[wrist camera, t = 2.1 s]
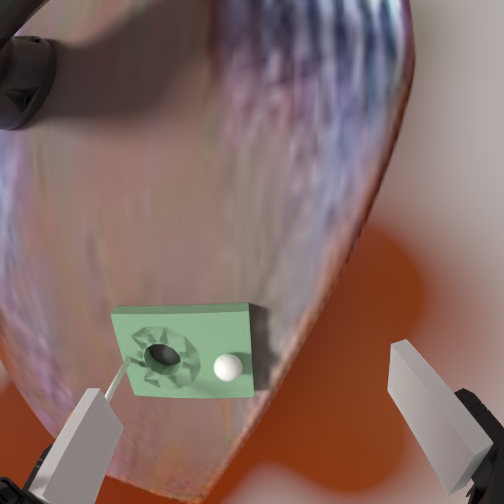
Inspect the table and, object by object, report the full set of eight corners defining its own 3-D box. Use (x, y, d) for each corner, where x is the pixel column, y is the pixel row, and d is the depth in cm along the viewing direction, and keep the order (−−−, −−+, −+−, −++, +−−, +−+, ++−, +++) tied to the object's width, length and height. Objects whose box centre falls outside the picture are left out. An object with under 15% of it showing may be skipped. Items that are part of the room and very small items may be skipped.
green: (124, 384, 41) (89, 459, 25) (101, 306, 37) (40, 372, 21) (253, 385, 41) (258, 475, 25) (248, 302, 38) (252, 387, 22)
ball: (216, 370, 37) (214, 387, 34) (213, 348, 36) (211, 365, 33) (243, 369, 37) (243, 386, 34) (241, 347, 36) (241, 364, 33)
